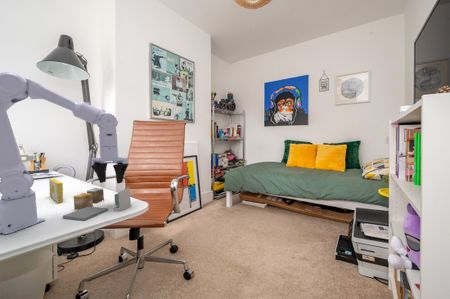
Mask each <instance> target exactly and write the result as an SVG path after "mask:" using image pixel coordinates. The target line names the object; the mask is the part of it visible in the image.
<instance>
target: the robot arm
mask: <svg viewBox="0 0 450 299" xmlns="http://www.w3.org/2000/svg"><path fill="white" fill-rule="evenodd" d="M28 98H30V99H31V100H43V101H44V100H45V101H47V102H49V103H52V104H55V105H56V106H60V107H62V108H63V109H67V110H68V111H71V112H72V114H73V116H74V117H75V118H78V119H80V120H83V121H85V122H88V123H90V124H92V125H93V126H94V125H97V127H98V132H99V134H98V139H99V140H98V142H99V155H100V156H99V157H93V158H91V161H90V162H91V164H92V165H90V167H91V169H92V170H93V171H94V173H95V175H96V176H97V179H98V182H99V183H100V184H102V183H105V182H106V181H107V174H106V173H107V168H108V164H112V167H113V170H114V172H115V180H116V183H117V184H121V183H123V182H124V177H125V173H126V172H127V169H128V166H129V157H119V148H118V146H119V145H118V134H117V126H118V124H119V121H118V120H117V117H116V116H115V115H113V113H106V110H105V109H99V108H97V107H95V106H94V105H92V103H91V102H89V101H83V100H82V101H74V100H72V99H70V98H68V97H66V96H64V95H63V94H60V93H58V92H57V91H55V90H52V89H50V88H49V87H46V86H44V85H43V84H41V83H38V82H35V81H33V80H31V79H29V78H26V77H24V78H23V77H22V76H21V75H19V74H17V73H14V72H10V71H8V72H0V194H1V196H0V234H1V233H3V235H10V234H11V233H15V232H18V231H20V230H22V229H23V230H24V229H25V228H29V227H31V226H34V225H36V224H37V225H38V224H39V223H41V222H44V221H46V218H40V217H38V211H37V199H36V198H37V197H36V191H34V190H33V189H32V187H33V185H34V184H35V183H34V182H35V181H34V177H33V175H31V173H29V172H28V170H27V167H26V166H25V164H24V162H23V158H22V156H21V153H20V150H19V147H18V144H17V140H16V137H15V133H14V131H13V128H12V124H11V120H10V118H9V115H8V110H9V109H10V108H11V107H12V106H14V105H15V103H19V102H22V101H24V100H26V99H28Z"/></svg>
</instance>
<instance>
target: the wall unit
mask: <svg viewBox="0 0 450 299" xmlns="http://www.w3.org/2000/svg"><path fill="white" fill-rule="evenodd" d="M113 196H114V206H115V207H114V208H113V211H115V210H116V212H117V211H119V212H122V211H123V210H124V211H125V209H129V208H130V207H131V206H132V204H131V202H132V200H131V189H130V188H128V187H127V188H125V189H123V190H119V191H118V193H115V194H114V195H113Z"/></svg>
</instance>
